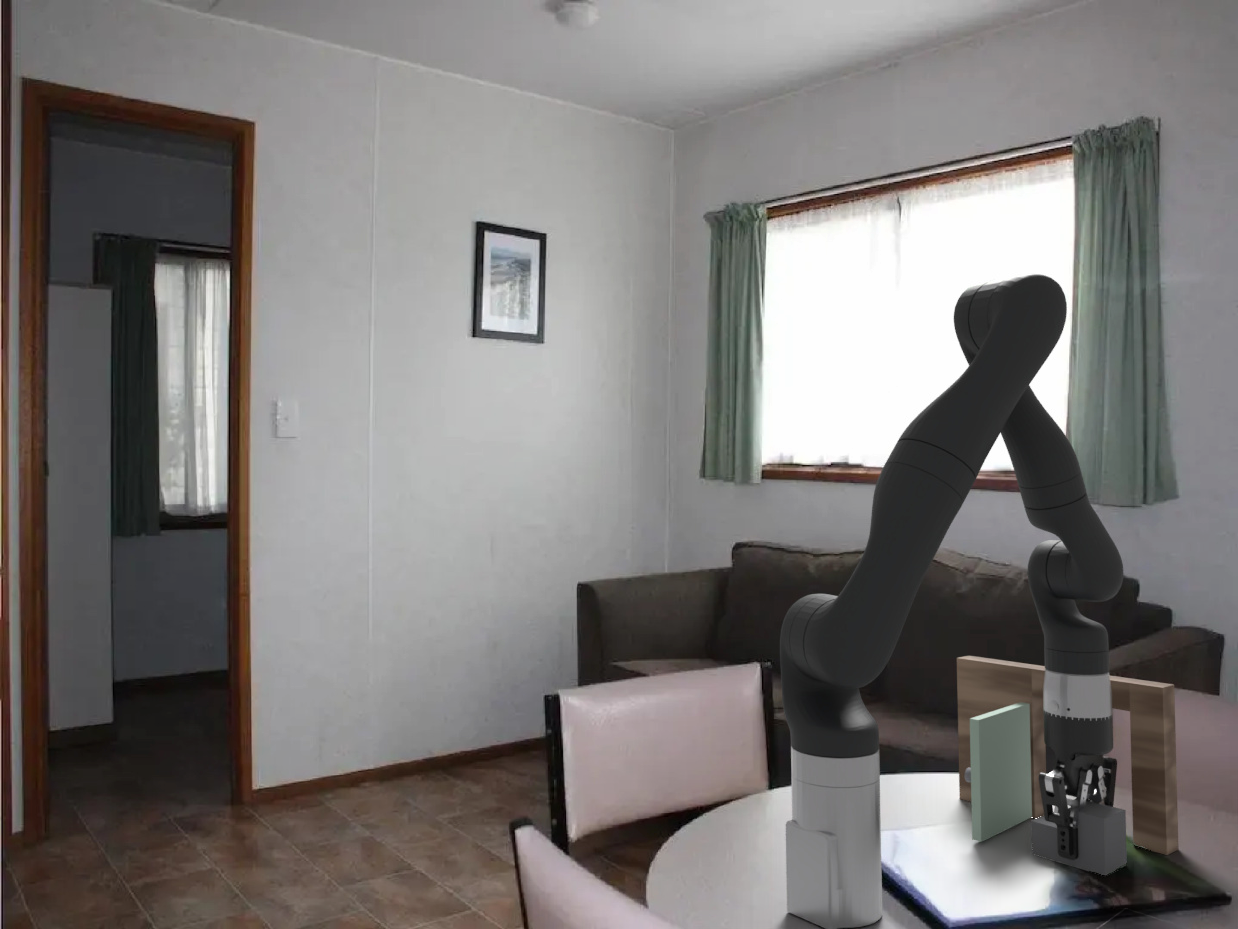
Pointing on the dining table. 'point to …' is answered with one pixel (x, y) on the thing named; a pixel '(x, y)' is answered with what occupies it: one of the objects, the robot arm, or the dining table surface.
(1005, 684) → the wall frame
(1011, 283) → the robot arm
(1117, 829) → the grey stepped block
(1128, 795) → the dining table surface
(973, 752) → the door
